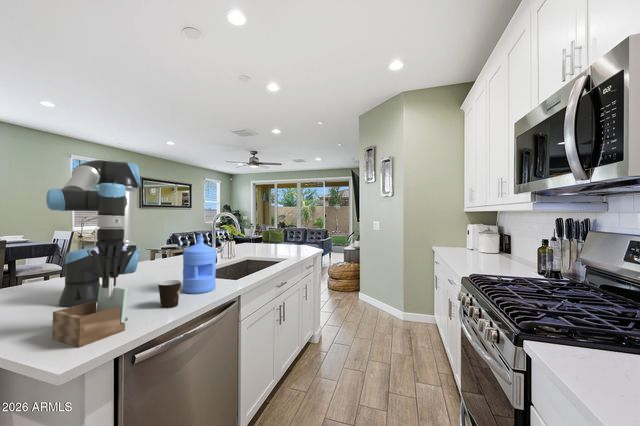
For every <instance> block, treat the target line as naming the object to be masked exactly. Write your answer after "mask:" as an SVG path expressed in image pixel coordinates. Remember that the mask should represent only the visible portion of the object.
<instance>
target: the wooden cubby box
mask: <svg viewBox="0 0 640 426" xmlns="http://www.w3.org/2000/svg"><path fill="white" fill-rule="evenodd" d="M96 307H97V302H96V301H93V302H89V303H85V304H81V305H77V306H73V307H65V308H62V309H59V310H56V311H55V310H54V311H52V340H54V341H58V342H61V343H63V344H64V343H65V344H68V345H70V346H73V347H76V346H77V347H76V348H79V347H80V348H82V347H84V345H85V346H88V345H90V344H92V343H95V342H98V341H101V340H104V339H105V338H108V337H111V336H114V335H116V334H120V333H122V332H124V331H125V330H126V322H123V323H120V307H119V306H117V307H114V308H110V309H107V310H103V311H100V312H96ZM87 344H88V345H87Z"/></svg>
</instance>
